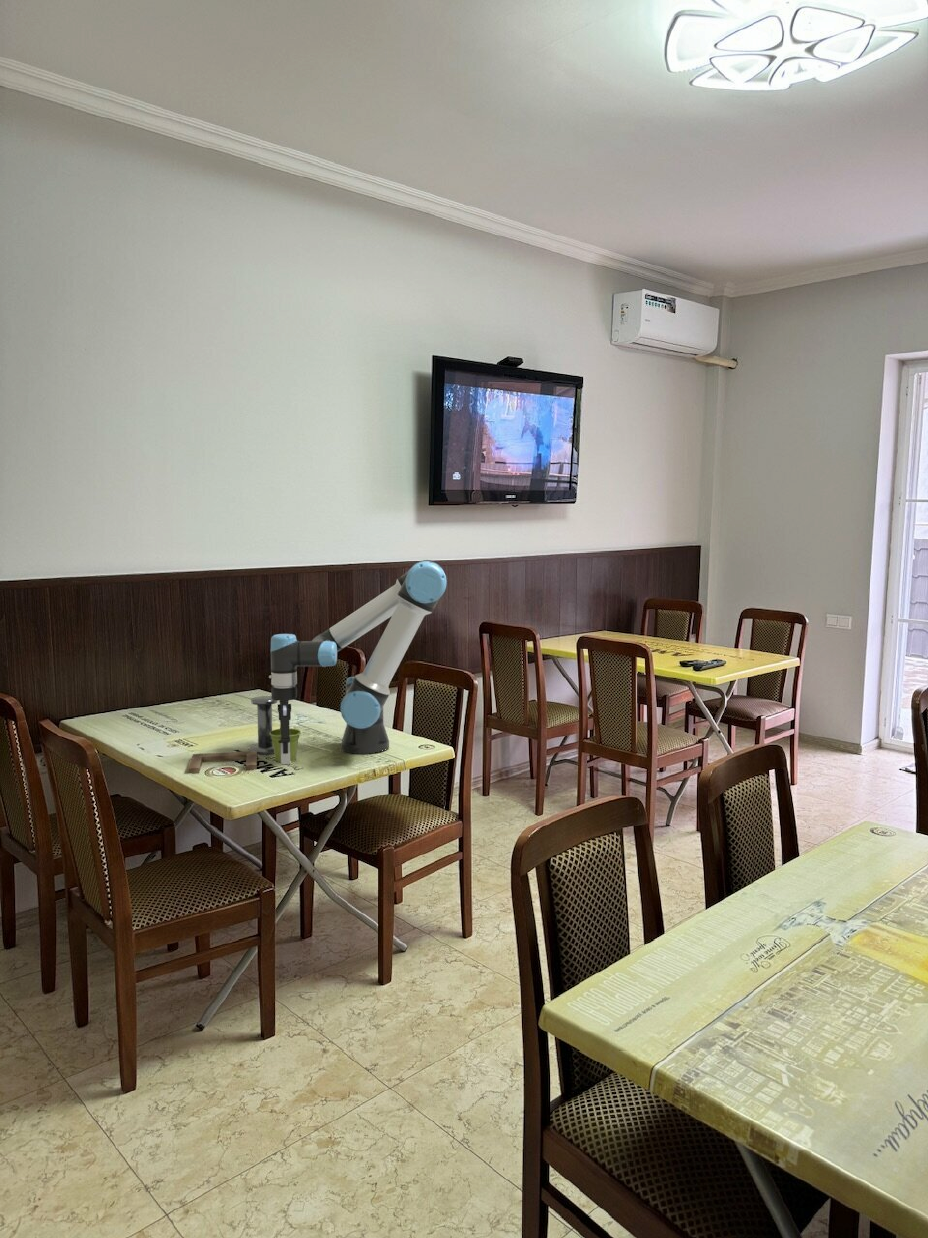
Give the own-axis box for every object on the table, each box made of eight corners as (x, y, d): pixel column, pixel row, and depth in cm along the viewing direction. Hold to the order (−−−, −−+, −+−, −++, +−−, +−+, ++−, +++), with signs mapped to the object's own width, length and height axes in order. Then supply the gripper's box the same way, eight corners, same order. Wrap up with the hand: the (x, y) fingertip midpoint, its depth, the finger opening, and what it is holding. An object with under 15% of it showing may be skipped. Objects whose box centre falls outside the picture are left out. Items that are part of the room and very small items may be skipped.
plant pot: (305, 756, 273) (304, 728, 272) (296, 764, 263) (295, 736, 262) (275, 755, 273) (274, 728, 272) (265, 764, 264) (265, 735, 263)
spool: (281, 746, 285) (280, 694, 283) (282, 754, 275) (280, 701, 273) (249, 747, 282) (248, 696, 281) (248, 756, 273) (247, 702, 271)
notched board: (257, 755, 273) (257, 750, 273) (256, 769, 258) (256, 764, 258) (192, 759, 269) (192, 754, 269) (188, 773, 254) (188, 768, 254)
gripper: (271, 679, 275) (272, 750, 278) (271, 693, 254) (272, 769, 257) (295, 679, 277) (296, 749, 280) (298, 692, 256) (299, 768, 259)
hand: (285, 759), depth 268 cm, fingers open, 9 cm apart
